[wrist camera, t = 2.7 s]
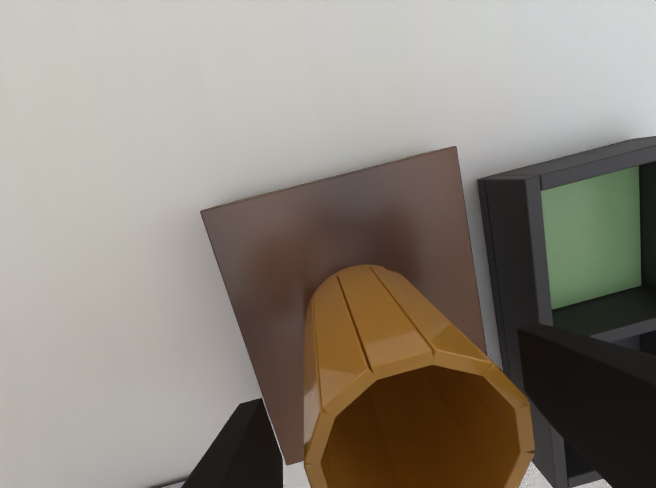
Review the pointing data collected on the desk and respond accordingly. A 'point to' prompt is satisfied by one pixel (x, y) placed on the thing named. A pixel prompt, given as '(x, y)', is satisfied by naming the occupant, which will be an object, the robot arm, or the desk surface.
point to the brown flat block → (340, 261)
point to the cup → (403, 393)
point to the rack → (573, 264)
